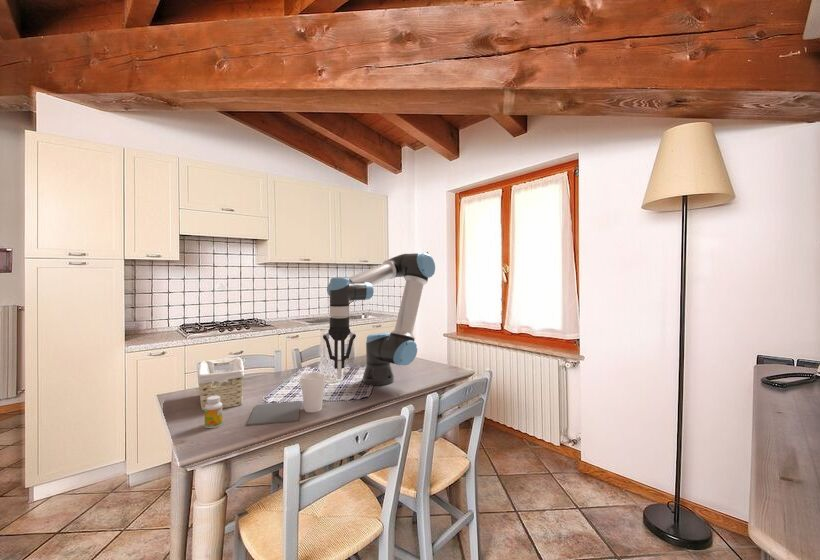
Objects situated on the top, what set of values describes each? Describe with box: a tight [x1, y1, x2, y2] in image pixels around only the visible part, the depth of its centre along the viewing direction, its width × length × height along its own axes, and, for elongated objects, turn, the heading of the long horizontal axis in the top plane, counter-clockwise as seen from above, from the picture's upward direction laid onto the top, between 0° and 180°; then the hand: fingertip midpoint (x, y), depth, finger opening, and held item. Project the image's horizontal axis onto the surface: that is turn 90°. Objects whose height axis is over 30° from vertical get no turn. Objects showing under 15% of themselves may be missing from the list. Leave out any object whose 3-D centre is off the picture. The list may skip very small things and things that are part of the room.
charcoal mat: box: [246, 400, 302, 427], centre depth 133 cm, size 17×18×1 cm
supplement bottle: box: [204, 396, 224, 429], centre depth 123 cm, size 5×5×10 cm
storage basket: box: [197, 356, 245, 412], centre depth 147 cm, size 24×16×15 cm
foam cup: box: [299, 371, 327, 413], centre depth 137 cm, size 10×9×13 cm
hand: (339, 376), depth 140 cm, fingers closed
